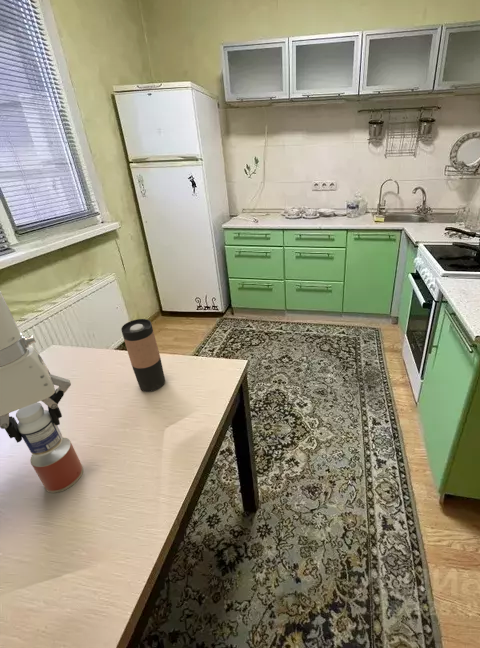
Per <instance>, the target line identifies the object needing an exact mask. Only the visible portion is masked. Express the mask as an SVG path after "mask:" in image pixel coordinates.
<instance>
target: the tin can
mask: <svg viewBox="0 0 480 648" xmlns="http://www.w3.org/2000/svg"><path fill="white" fill-rule="evenodd" d="M30 465H31V466H32V468H33V470H34V471H35V473H36V476H37V477H38V479H39V481H40V482H41V483H42V485H43V487H44V489H45V491H47V492H48V493H51V494H57V493H60V492H63V491H66V490H68V489H70V488H71V487H73V485H75V484H76V483H77V482H78V481H79V480H80V478H81V477H82V475H83V473H84V466H83V464H82V463H81V460H80V458H79V456H78V454H77V452H76V450H75V447H74V446H73V444H72V442H71V440H70V439H69V438H67V437H63V440H62V443H61V444H60V446H59V447H58V448H57V449H55V450H54V451H53V452H51V453H49V454H46V455H43V456H35V455H33V454H32V453H31V457H30Z"/></svg>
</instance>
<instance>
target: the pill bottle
mask: <svg viewBox="0 0 480 648" xmlns="http://www.w3.org/2000/svg"><path fill="white" fill-rule="evenodd" d="M15 417H16V419H17V421H18V422H17V424H18V426H17V428H18V431H19V433H20V434H21V436H22V441H24V443H25V445H26V446H27V448H28V449H29V451H30V453H31V455H32V454H33V455H35V456H43V455H46V454H49V453H51V452H53V451H54V450H55V449H57V448H58V447H59V446H60V444H61V443H62V440H63V438H64V437H63V435H62V432H61V430H60V428H59V425H55V424H54V422H53V420H52V418H51V416H50V414H49V411H48V409H45V408H44V407H43V405H42V403H40V402H36V403H34V404H31V405H29V406H26V407H24V408H21V409H18V410H16V413H15Z"/></svg>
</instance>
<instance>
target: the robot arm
mask: <svg viewBox="0 0 480 648" xmlns="http://www.w3.org/2000/svg"><path fill="white" fill-rule="evenodd" d="M36 342H37V341H36V338H35V335H30V336H25V335H23V333H22V332H21V330H20V328H19V327H18V325H17V323H16V320H15V318H14V316H13V314H12V312H11V310H10V308H9V305H8V304H7V301H6V299H5V298H4V295H3V292H2V291H1V290H0V429H2V430H5V432H6V434H7V436H8V437H9V438H10V439H13V438H14V440H15V441H16V443H20V442H22V441H23V438H22V436H21V434H20V433H19V431H18V428H17V426H18V422H17V420H16V419H15V417H14V416H10V414H11V413H13V412H17V411H18V410H19V409H21V408H24V407H26V406H29V405H31V404H34V403H36V402H38V403H40V402H42V403H44V404H45V405H46V406H47V410H48V411H49V414H50V416H51V418H52V420H53V422H54V424H55V425H57V426H60V425H61V422H60V419H61V418H62V417H63V415H62V411H61V409H60V407H59V403H60V402H61V400H62V399H63V397H64V395H65V393H66V392H67V391H68V390H69V389H70V387H71V385H72V382H71V380H70V379H68V378H64V377H61V376H59V375H54V374H52V373H51V371H50V370H49V367H48V366H47V365H46V362H45V361H44V359H43V358H42V356H41V354H40V353H39V352H38V351H37V350H36V348H35V346H33V345H32V344H34V343H36ZM55 386H57V387H58V388H56V389H55Z"/></svg>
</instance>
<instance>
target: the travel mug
mask: <svg viewBox="0 0 480 648" xmlns="http://www.w3.org/2000/svg"><path fill="white" fill-rule="evenodd" d="M120 331H121V333H122V337H123V340H124V344H125V348H126V352H127V355H128V357H129V361H130V365H131V367H132V370H133V373H134V375H135V378H136V381H137V384H138V387H139V389H140V390H141V391H142V392H144V393H145V392H146V393H150V392H154V391H158V390H159V389H160V388H162V387H163V386H164V385H165V383H166V377H165V372H164V368H163V362H162V360H161V359H162V358H161V354H160V350H159V347H158V344H157V343H158V342H157V339H156V335H155V331H154V328H153V325H152V322H151V320H149V319H147V318H138V319H137V318H136V319H134V320H130V321H128V322H126V323H124V324H123V325H122V326H121V330H120Z"/></svg>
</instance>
